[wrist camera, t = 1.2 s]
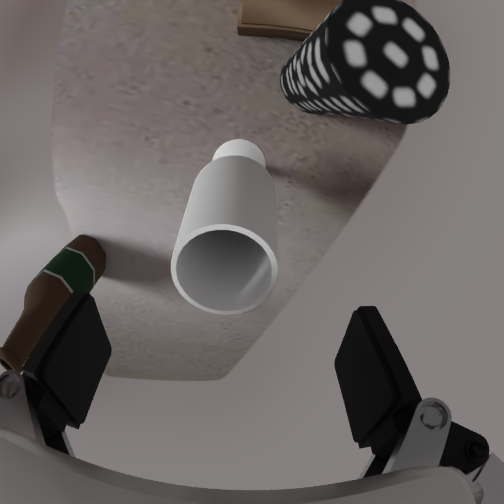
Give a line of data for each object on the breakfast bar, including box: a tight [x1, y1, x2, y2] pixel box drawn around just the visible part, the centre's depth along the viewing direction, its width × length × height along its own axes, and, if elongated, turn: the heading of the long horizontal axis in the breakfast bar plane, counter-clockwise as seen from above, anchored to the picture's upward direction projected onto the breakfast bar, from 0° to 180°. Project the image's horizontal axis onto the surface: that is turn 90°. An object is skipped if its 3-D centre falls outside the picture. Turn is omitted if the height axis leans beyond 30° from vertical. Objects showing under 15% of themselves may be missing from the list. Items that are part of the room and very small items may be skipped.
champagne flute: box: [171, 139, 278, 315], centre depth 22 cm, size 7×7×24 cm
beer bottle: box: [0, 235, 105, 373], centre depth 28 cm, size 8×8×24 cm
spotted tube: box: [280, 0, 450, 124], centre depth 19 cm, size 8×8×20 cm
